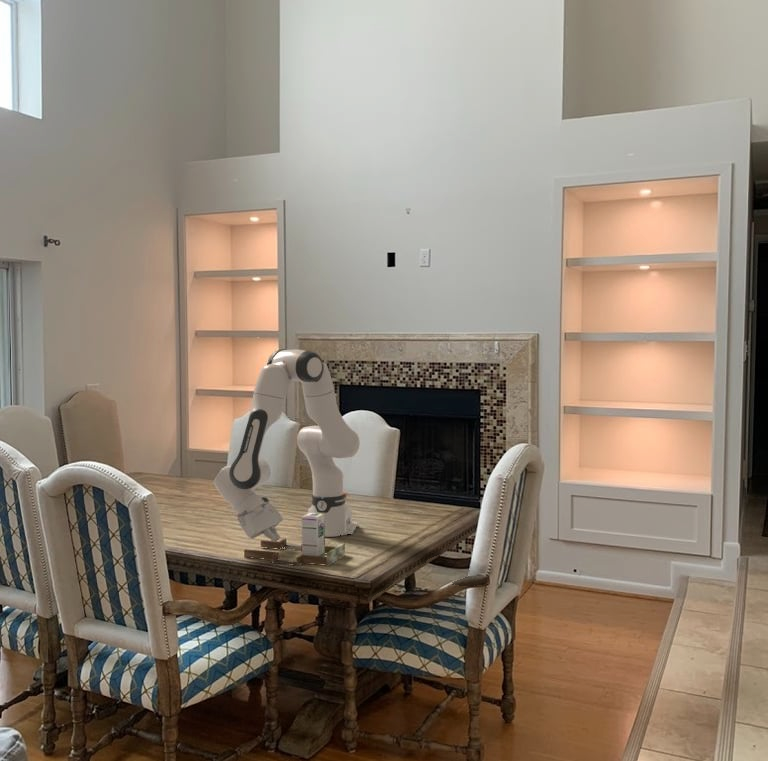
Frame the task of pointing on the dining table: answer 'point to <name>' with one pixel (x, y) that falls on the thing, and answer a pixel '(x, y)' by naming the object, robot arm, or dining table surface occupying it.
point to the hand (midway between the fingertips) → (277, 539)
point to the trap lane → (331, 551)
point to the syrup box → (313, 534)
